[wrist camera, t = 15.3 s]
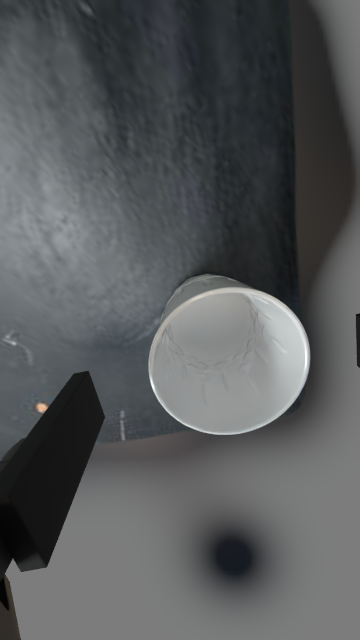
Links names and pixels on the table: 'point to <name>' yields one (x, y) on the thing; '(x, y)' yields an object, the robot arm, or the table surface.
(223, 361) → the white cup
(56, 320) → the table surface
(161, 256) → the table surface
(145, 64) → the table surface
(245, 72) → the table surface
